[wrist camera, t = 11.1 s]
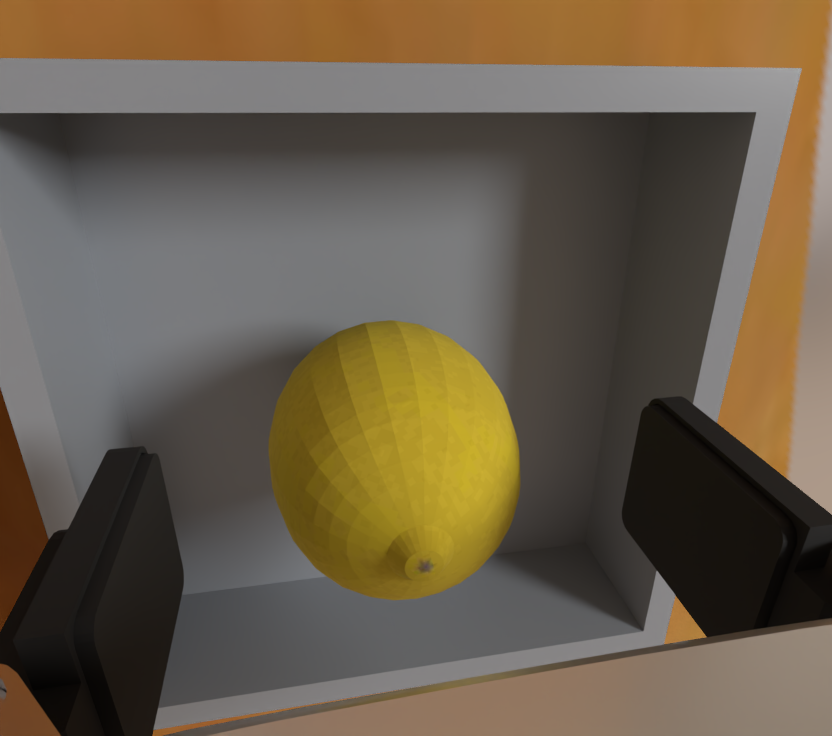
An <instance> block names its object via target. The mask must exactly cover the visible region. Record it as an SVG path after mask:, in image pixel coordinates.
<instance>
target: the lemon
mask: <svg viewBox="0 0 832 736" xmlns="http://www.w3.org/2000/svg"><path fill="white" fill-rule="evenodd" d="M269 461H270V472H271V481H272V488H273V492H274V496H275V499H276V502H277V504H278V507H279V509H280V512H281V514H282V517H283V519H284V521H285V524H286V526H287V529H288V531H289V533H290V535H291V537H292V539H293V541H294V542H295V543H296V545H297V546H298V547H299V549H300V550H301V551H302V552H303V554H304V555H305V556H306V557H307V559H308V560H309V561H310V562H311V563H312V565H313V566H314V567H315V568H316V569H317V570H319V571H320V572H321V573H323V574H324V575H325V576H327V577H328V578H330V579H331V580H333V581H334V582H336V583H337V584H339V585H340V586H342V587H344V588H346V589H349V590H352V591H354V592H357V593H360V594H363V595H365V596H369V597H373V598H380V599H388V600H406V599H418V598H422V597H425V596H429V595H433V594H437V593H440V592H442V591H444V590H446V589H449V588H451V587H453V586H455V585H457V584H459V583H461V582H462V581H464V580H465V579H466V578H468V577H469V576H471V575H472V574H473V573H475V572H476V571H477V570H479V569H480V567H481V566H482V565H483V564H484V563H485V562H486V561H487V560H488V559H489V557H490V556H491V555H492V554H493V553H494V552H495V551H496V549H497V548H498V547H499V545H500V544H501V542H502V540H503V538H504V536H505V535H506V533H507V531H508V529H509V527H510V525H511V523H512V520H513V517H514V513H515V510H516V506H517V502H518V498H519V493H520V485H521V484H520V457H519V446H518V440H517V436H516V433H515V429H514V426H513V423H512V420H511V417H510V414H509V411H508V408H507V405H506V403H505V400H504V398H503V396H502V394H501V392H500V390H499V389H498V387H497V386H496V384H495V383H494V381H493V380H492V379H491V377H490V376H489V374H488V373H487V372H486V370H485V369H484V367H483V366H482V365H481V363H480V362H479V361H478V360H477V359H476V358H475V357H474V356H473V355H471V354H470V353H469V352H468V351H466V350H465V349H464V348H462V347H461V346H460V345H459V344H457V343H456V342H455V341H453V340H452V339H451V338H449V337H448V336H446V335H443V334H441V333H439V332H436V331H434V330H432V329H429V328H427V327H424V326H422V325H419V324H414V323H407V322H401V321H394V320H388V321H377V322H367V323H362V324H359V325H356V326H354V327H351V328H348V329H345V330H342V331H339V332H337V333H336V334H334V335H332V336H331V337H329V338H328V339H326V340H325V341H323V342H321V343H320V344H318V345H317V346H315V347H314V348H313V349H312V351H311V352H310V353H309V354H308V355H307V356H306V357H305V358H304V359H303V360H302V361H301V362H300V363H299V364H298V366H297V367H296V368H295V369H294V370H293V372H292V374H291V376H290V378H289V380H288V381H287V383H286V385H285V387H284V389H283V391H282V393H281V395H280V396H279V398H278V401H277V404H276V407H275V412H274V416H273V421H272V426H271V430H270V435H269Z"/></svg>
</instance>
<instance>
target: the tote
mask: <svg viewBox="0 0 832 736" xmlns="http://www.w3.org/2000/svg"><path fill="white" fill-rule="evenodd" d="M801 69H802V68H738V67H659V66H580V65H501V64H422V63H343V62H264V61H185V60H106V59H27V58H0V388H1V391H2V394H3V397H4V401H5V404H6V407H7V410H8V413H9V416H10V419H11V423H12V426H13V429H14V432H15V435H16V438H17V441H18V445H19V448H20V451H21V454H22V457H23V460H24V463H25V467H26V470H27V473H28V476H29V479H30V482H31V485H32V489H33V492H34V495H35V498H36V501H37V504H38V507H39V511H40V514H41V517H42V520H43V523H44V526H45V529H46V533H47V536H48V539H50V538H51V536H52V535H53V533H55V532H57V531H58V530H65V529H68V528H69V526H70V524H71V522H72V520H73V518H74V516H75V514H76V512H77V510H78V508H79V506H80V504H81V502H82V500H83V498H84V496H85V494H86V492H87V490H88V488H89V486H90V484H91V482H92V480H93V478H94V476H95V474H96V472H97V470H98V468H99V466H100V464H101V462H102V460H103V458H104V456H105V454H106V452H107V451H108V450H109V449H117V448H128V447H139V446H144V447H145V448H146V450H147V452H148V454H151V453H157V454H158V456H159V459H160V463H161V468H162V472H163V477H164V481H165V486H166V491H167V495H168V500H169V505H170V509H171V514H172V518H173V523H174V528H175V532H176V537H177V541H178V546H179V551H180V555H181V560H182V564H183V570H184V586H183V592H182V597H181V601H180V606H179V611H178V616H177V620H176V625H175V630H174V635H173V639H172V644H171V649H170V654H169V658H168V663H167V668H166V673H165V677H164V682H163V687H162V692H161V696H160V701H159V706H158V711H157V715H156V720H155V725H154V730H156V729H162V728H168V727H175V726H181V725H187V724H193V723H199V722H205V721H211V720H217V719H223V718H230V717H236V716H242V715H248V714H254V713H260V712H266V711H272V710H278V709H284V708H291V707H297V706H303V705H309V704H315V703H321V702H327V701H333V700H339V699H345V698H352V697H358V696H364V695H370V694H376V693H382V692H388V691H394V690H400V689H407V688H413V687H419V686H425V685H431V684H437V683H443V682H448V681H454V680H460V679H465V678H471V677H477V676H483V675H488V674H494V673H500V672H506V671H512V670H517V669H523V668H529V667H535V666H540V665H546V664H552V663H558V662H564V661H570V660H575V659H581V658H587V657H593V656H599V655H605V654H610V653H616V652H622V651H628V650H634V649H640V648H646V647H652V646H658V645H664V641H665V637H666V633H667V628H668V624H669V620H670V616H671V612H672V608H673V603H674V599H675V594H674V592H673V591H672V590H671V589H670V587H669V586H668V585H667V583H666V582H665V581H664V579H663V578H662V577H661V575H660V574H659V573H658V571H657V570H656V569H655V567H654V566H653V565H652V563H651V562H650V561H649V559H648V558H647V557H646V555H645V554H644V553H643V551H642V550H641V549H640V547H639V546H638V545H637V543H636V542H635V541H634V539H633V538H632V537H631V535H630V534H629V533H628V531H627V530H626V528H625V526H624V524H623V520H622V507H623V502H624V497H625V492H626V487H627V482H628V477H629V472H630V467H631V461H632V456H633V451H634V446H635V441H636V436H637V431H638V426H639V421H640V416H641V412H642V410H643V408H644V407H646V406H648V404H649V403H650V401H651V400H653V399H654V398H665V397H676V396H682V397H684V398H686V399H687V400H688V401H690V402H691V403H692V404H693V405H695V406H696V407H697V408H698V409H700V410H701V411H702V412H703V413H705V414H706V415H707V416H708V417H710V418H711V419H712V420H713V421H715V422H716V423H717V420H718V416H719V411H720V407H721V403H722V399H723V395H724V391H725V386H726V382H727V378H728V374H729V370H730V366H731V361H732V357H733V353H734V349H735V345H736V340H737V336H738V332H739V328H740V324H741V320H742V315H743V311H744V307H745V303H746V299H747V295H748V290H749V286H750V282H751V278H752V274H753V270H754V265H755V261H756V257H757V253H758V249H759V244H760V240H761V236H762V232H763V228H764V224H765V219H766V215H767V211H768V207H769V203H770V199H771V194H772V190H773V186H774V182H775V178H776V174H777V169H778V165H779V161H780V157H781V153H782V149H783V144H784V140H785V136H786V132H787V128H788V123H789V119H790V115H791V111H792V107H793V103H794V98H795V94H796V90H797V86H798V82H799V78H800V73H801ZM388 320H394V321H401V322H407V323H414V324H419V325H422V326H424V327H427V328H429V329H432V330H434V331H436V332H439V333H441V334H443V335H446V336H448V337H449V338H451V339H452V340H453V341H455V342H456V343H457V344H459V345H460V346H461V347H462V348H464V349H465V350H466V351H468V352H469V353H470V354H471V355H473V356H474V357H475V358H476V359H477V360H478V361H479V362H480V363H481V365H482V366H483V367H484V369H485V370H486V372H487V373H488V374H489V376H490V377H491V379H492V380H493V381H494V383H495V384H496V386H497V387H498V389H499V390H500V392H501V394H502V396H503V398H504V400H505V403H506V405H507V408H508V411H509V414H510V417H511V420H512V423H513V426H514V429H515V433H516V436H517V440H518V446H519V457H520V484H521V485H520V493H519V498H518V502H517V506H516V510H515V513H514V517H513V520H512V523H511V525H510V527H509V529H508V531H507V533H506V535H505V536H504V538H503V540H502V542H501V544H500V545H499V547H498V548H497V549H496V551H495V552H494V553H493V554H492V555H491V556H490V557H489V559H488V560H487V561H486V562H485V563H484V564H483V565H482V566H481V567H480V569H479V570H477V571H476V572H475V573H473V574H472V575H471V576H469V577H468V578H466V579H465V580H464V581H462V582H461V583H459V584H457V585H455V586H453V587H451V588H449V589H446V590H444V591H442V592H440V593H437V594H433V595H429V596H425V597H422V598H418V599H406V600H388V599H380V598H373V597H369V596H365V595H363V594H360V593H357V592H354V591H352V590H349V589H346V588H344V587H342V586H340V585H339V584H337V583H336V582H334V581H333V580H331V579H330V578H328V577H327V576H325V575H324V574H323V573H321V572H320V571H319V570H317V569H316V568H315V567H314V566H313V565H312V563H311V562H310V561H309V560H308V559H307V557H306V556H305V555H304V554H303V552H302V551H301V550H300V549H299V547H298V546H297V545H296V543H295V542H294V541H293V539H292V537H291V535H290V533H289V531H288V529H287V526H286V524H285V521H284V519H283V517H282V514H281V512H280V509H279V507H278V504H277V502H276V499H275V496H274V492H273V488H272V481H271V472H270V461H269V435H270V430H271V426H272V421H273V416H274V412H275V407H276V404H277V401H278V398H279V396H280V395H281V393H282V391H283V389H284V387H285V385H286V383H287V381H288V380H289V378H290V376H291V374H292V372H293V370H294V369H295V368H296V367H297V366H298V364H299V363H300V362H301V361H302V360H303V359H304V358H305V357H306V356H307V355H308V354H309V353H310V352H311V351H312V349H313V348H314V347H315V346H317V345H318V344H320V343H321V342H323V341H325V340H326V339H328V338H329V337H331V336H332V335H334V334H336V333H337V332H339V331H342V330H345V329H348V328H351V327H354V326H356V325H359V324H362V323H367V322H377V321H388Z"/></svg>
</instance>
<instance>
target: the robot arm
mask: <svg viewBox="0 0 832 736" xmlns="http://www.w3.org/2000/svg"><path fill="white" fill-rule="evenodd" d="M622 520H623V524H624V526H625V528H626V530H627V531H628V533H629V534H630V535H631V537H632V538H633V539H634V541H635V542H636V543H637V545H638V546H639V547H640V549H641V550H642V551H643V553H644V554H645V555H646V557H647V558H648V559H649V561H650V562H651V563H652V565H653V566H654V567H655V569H656V570H657V571H658V573H659V574H660V575H661V577H662V578H663V579H664V581H665V582H666V583H667V585H668V586H669V587H670V589H671V590H672V591H673V592H674V594H675V595H676V596H677V598H678V599H679V600H680V602H681V603H682V604H683V606H684V607H685V608H686V610H687V611H688V612H689V614H690V615H691V616H692V618H693V619H694V620H695V622H696V623H697V624H698V626H699V627H700V628H701V630H702V631H703V632H704V634H705V635H706V636H707V637H706V638H700V639H694V640H688V641H682V642H676V643H670V644H664V645H658V646H652V647H646V648H640V649H634V650H628V651H622V652H616V653H610V654H605V655H599V656H593V657H587V658H581V659H575V660H570V661H564V662H558V663H552V664H546V665H540V666H535V667H529V668H523V669H517V670H512V671H506V672H500V673H494V674H488V675H483V676H477V677H471V678H465V679H460V680H454V681H448V682H443V683H437V684H431V685H426V686H420V687H415V688H409V689H403V690H398V691H392V692H387V693H381V694H375V695H370V696H364V697H359V698H353V699H347V700H342V701H336V702H331V703H325V704H319V705H314V706H308V707H302V708H297V709H292V710H287V711H282V712H277V713H271V714H266V715H261V716H256V717H251V718H246V719H241V720H236V721H230V722H225V723H220V724H215V725H210V726H205V727H200V728H195V729H190V730H185V731H181V732H177V733H173V734H168V735H164V736H832V515H831V514H830V513H829V512H828V511H826V510H825V509H824V508H822V507H821V506H820V505H819V504H818V503H816V502H815V501H814V500H813V499H811V498H810V497H809V496H807V495H806V494H805V493H803V491H801V490H800V489H799V488H797V487H796V486H795V485H794V484H792V483H791V482H790V481H789V480H787V479H786V478H785V477H784V476H782V475H781V474H780V473H779V472H777V471H776V470H775V469H774V468H772V467H771V466H770V465H769V464H767V463H766V462H765V461H764V460H762V459H761V458H760V457H759V456H757V455H756V454H755V453H754V452H752V451H751V450H750V449H749V448H747V447H746V446H745V445H744V444H742V443H741V442H740V441H739V440H737V439H736V438H735V437H734V436H732V435H731V434H730V433H729V432H727V431H726V430H725V429H724V428H722V427H721V426H720V425H719V424H717V423H716V422H715V421H713V420H712V419H711V418H710V417H708V416H707V415H706V414H705V413H703V412H702V411H701V410H700V409H698V408H697V407H696V406H695V405H693V404H692V403H691V402H690V401H688V400H687V399H686V398H684V397H682V396H676V397H665V398H654V399H653V400H651V401H650V403H649V404H648V406H646V407H644V408H643V410H642V412H641V416H640V421H639V426H638V431H637V436H636V441H635V446H634V451H633V456H632V461H631V467H630V472H629V477H628V482H627V487H626V492H625V497H624V502H623V507H622ZM183 586H184V570H183V564H182V560H181V555H180V551H179V546H178V541H177V537H176V532H175V528H174V523H173V518H172V514H171V509H170V505H169V500H168V495H167V491H166V486H165V481H164V477H163V472H162V468H161V463H160V459H159V456H158V454H157V453H151V454H148V452H147V450H146V448H145V447H144V446H139V447H128V448H117V449H109V450H108V451H107V452H106V454H105V456H104V458H103V460H102V462H101V464H100V466H99V468H98V470H97V472H96V474H95V476H94V478H93V480H92V482H91V484H90V486H89V488H88V490H87V492H86V494H85V496H84V498H83V500H82V502H81V504H80V506H79V508H78V510H77V512H76V514H75V516H74V518H73V520H72V522H71V524H70V526H69V528H68V529H65V530H58V531H57V532H55V533H53V535H52V536H51V538H50V539H49V541H48V543H47V544H46V546H45V548H44V550H43V552H42V554H41V556H40V558H39V560H38V561H37V563H36V565H35V567H34V569H33V571H32V573H31V575H30V577H29V579H28V580H27V582H26V584H25V586H24V588H23V590H22V592H21V594H20V596H19V598H18V599H17V601H16V603H15V605H14V607H13V609H12V611H11V613H10V615H9V617H8V618H7V620H6V622H5V624H4V626H3V628H2V630H1V632H0V736H152V734H153V730H154V725H155V720H156V715H157V711H158V706H159V701H160V696H161V692H162V687H163V682H164V677H165V673H166V668H167V663H168V658H169V654H170V649H171V644H172V639H173V635H174V630H175V625H176V620H177V616H178V611H179V606H180V601H181V597H182V592H183Z"/></svg>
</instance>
